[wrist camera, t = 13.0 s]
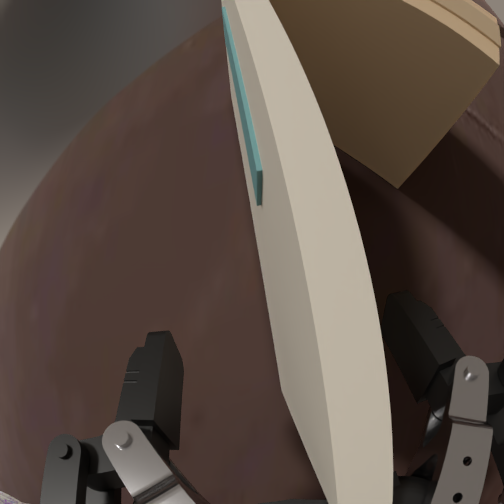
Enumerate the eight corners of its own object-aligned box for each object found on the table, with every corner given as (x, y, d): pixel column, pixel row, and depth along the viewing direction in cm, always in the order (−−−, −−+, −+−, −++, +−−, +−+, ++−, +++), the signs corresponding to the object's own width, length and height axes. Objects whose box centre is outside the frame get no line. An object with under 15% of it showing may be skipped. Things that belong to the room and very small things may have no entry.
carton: (432, 118, 21) (497, 17, 8) (398, 189, 19) (501, 63, 7) (305, 45, 24) (320, -66, 11) (243, 95, 22) (235, -51, 9)
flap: (298, 387, 16) (391, 510, 3) (278, 391, 16) (330, 529, 3) (244, 96, 21) (235, -54, 8) (229, 98, 21) (213, -51, 8)
